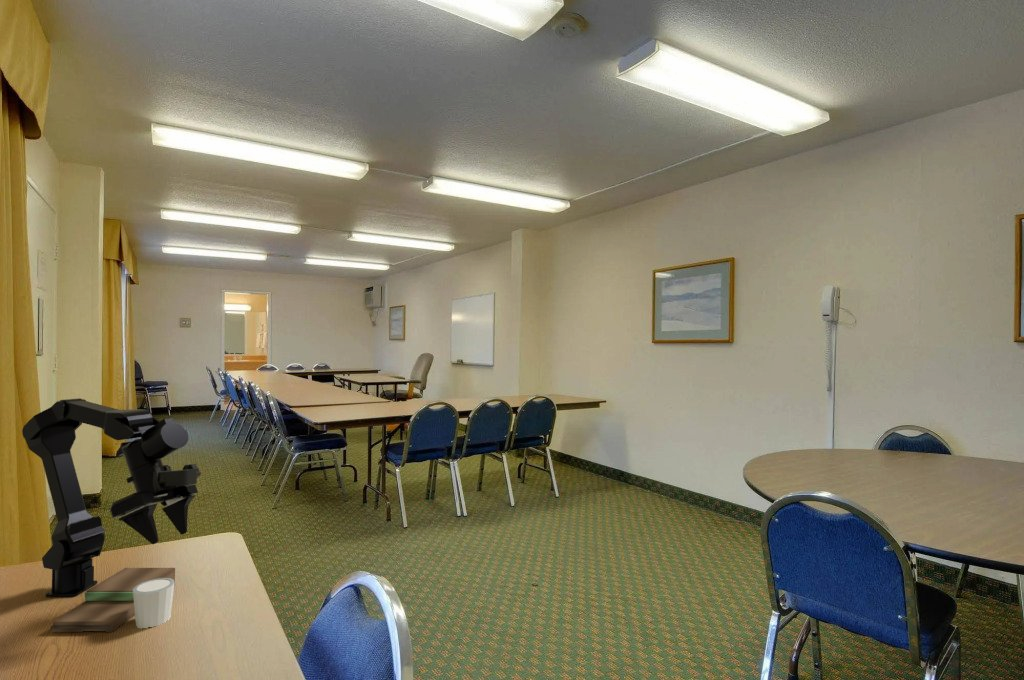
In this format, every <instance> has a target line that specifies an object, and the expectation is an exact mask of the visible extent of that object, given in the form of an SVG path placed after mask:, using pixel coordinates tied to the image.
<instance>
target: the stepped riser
mask: <svg viewBox="0 0 1024 680" xmlns="http://www.w3.org/2000/svg"><path fill="white" fill-rule="evenodd" d="M158 578H171V579H173V580H174V582H175V584H174V585H175V586H176V567H124V568H122V569H121V570H119V571H118V572H116V573H114V574H112V575H111V576H110V577H107V578H106V579H104V580H103V581H101V582H98V583H97V584H95V585H93V586H92V587H90V588H88V589H86V591H84V602H82V603H80V604H79V605H77V606H75V607H74V608H73V609H71V610H69V611H68V612H65V613H64V614H63V615H61V616H59V617H57V618H56V619H55V620H53V621H52V625H51V626H50V630H52V632H51V633H84V632H83V631H106V632H105V633H112V632H114V631H116V630H117V629H118V628H120V627H121V626H122V625H124V624H125V623H127V622H128V621H129V620H131V619H132V618H133V617H134V616H135V609H134V598H133V588H134V587H135V586H137V585H139V584H141V583H143V582H146V581H149V580H153V579H158ZM119 626H120V627H119Z"/></svg>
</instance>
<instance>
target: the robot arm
mask: <svg viewBox="0 0 1024 680" xmlns="http://www.w3.org/2000/svg"><path fill="white" fill-rule="evenodd" d="M83 424H85V425H89V426H93V427H96V428H100V429H102V430H103V433H104V435H106V436H107V437H109V438H111V439H113V440H115V441H123V440H130V439H134V440H132V441H125V442H121V443H120V446H119V448H118V449H117V450H116V452H115V456H116V457H120V456H124V460H125V462H126V466H127V468H128V472H129V474H130V476H129V477H127V478H126V483H127V484H131V483H132V484H133V486H134V489H135V492H134V493H133V492H132V494H129V495H127V496H125V497H122V498H120V499H117V500H116V501H113V502H112V503H111V505H110V508H109V511H110V513H111V518H112V519H116V518H118V521H119V522H123V523H124V524H126V525H127V526H129V527H130V528H131V529H133V530H134V531H135V532H137V533H138V534H139V535H140V536H141V537H143V538H144V539H146V540H147V542H149V543H150V544H151V545H155V544H156V543H159V535H158V531H157V530H158V529H157V527H156V523H155V517H154V513H155V510H156V508H157V505H158V504H159V503H160V504H161V506H163V508H161V509H162V511H163V513H165V516H167V518H168V519H169V521H170V522H171V523H172V524H173V526H174V528H175V529H176V531H178V532H179V534H180V535H184V534H186V533H188V513H189V512H188V511H189V505H190V504H191V503H192V501H193V499H195V498H196V495H197V494H198V493H199V491H198V489H197V486H196V484H198V479H199V477H200V476H201V475H202V472H201V471H200V468H199V467H198V465H197V463H190V464H184V466H183V467H182V469H177V470H173V469H172V468H171V467H172V466H170V465H169V464H163V463H164V462H163V461H162V459H164V458H165V457H168V456H169V455H172V454H173V453H175V452H176V451H178V450H180V449H182V448H183V447H185V446H186V445H187V444H188V442H189V433H188V430H186V429H185V428H184V426H182V425H181V424H179V423H176V422H175V420H174V418H173V417H168V418H163V419H161V420H159V419H158V418H156V417H155V416H153V413H152V412H151V411H150V410H148V409H144V408H143V409H141V408H139V409H138V408H137V409H136V408H135V409H131V408H130V409H118V408H114V407H111V406H106V405H102V404H99V403H96V402H95V403H94V402H90V401H87V400H86V399H84V398H69V399H60V400H57V401H55V403H53V404H52V406H51V407H48V408H46V409H45V410H42V411H41V412H39V413H37V414H35V415H34V416H32V417H31V418H30V419H29V420H28V421H27V422H26V423H25V424H24V425H23V427H22V431H21V432H22V437H23V439H25V443H26V445H27V447H28V449H29V451H31V452H32V453H33V454H35V455H36V456H37V457H38V458H40V459H41V461H42V465H43V468H44V473H45V477H46V480H47V484H48V488H49V492H50V496H51V500H52V503H53V509H54V512H55V514H56V518H57V523H56V525H55V528H54V530H53V532H52V535H51V542H52V545H51V547H50V548H49V549H48V550H47V551H46V552H45V554H44V555H43V556H42V558H41V561H42V565H43V568H44V569H48V570H51V590H50V591H48V592H46V593H45V595H44V596H45V597H75V596H78V595H79V594H81V593H83V592H86V591H87V590H89V589H91V588H92V587H94V586H96V585H97V584H98V580H95V573H94V572H95V566H94V565H93V558H96V557H100V556H101V553H102V550H103V546H104V544H105V541H106V540H105V539H106V535H105V533H106V530H105V529H104V527H103V523H102V518H101V517H100V515H95V516H94V515H92V514H90V513H89V512H88V511H87V509H86V504H85V501H84V497H83V493H82V489H81V486H80V482H79V479H78V476H77V475H78V474H77V471H76V468H75V467H76V466H75V464H74V463H75V462H74V460H73V456H72V453H71V449H72V448H73V445H74V443H75V441H76V439H77V434H76V431H77V430H78V428H80V427H81V426H82V425H83Z"/></svg>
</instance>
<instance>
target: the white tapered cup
mask: <svg viewBox="0 0 1024 680" xmlns="http://www.w3.org/2000/svg"><path fill="white" fill-rule="evenodd" d="M174 584H175V585H176V581H175V582H174V580H173V579H171V578H158V579H153V580H149V581H146V582H143V583H141V584H139V585H137V586H135V587H134V588H133V598H134V609H135V617H134V618H135V619H134V620H135V626H137V627H136V628H138V629H142V628H146V629H149V628H148V627H152V628H154V627H153V626H156V627H159V626H161V625H163V624H162V623H164V622H165V623H167V622H168V621H169V620H170V619H171V615H172V608H173V599H174V592H175V591H174V590H175V586H174ZM167 620H168V621H167ZM166 621H167V622H166ZM165 623H164V624H165ZM160 624H161V625H160ZM158 625H159V626H158Z"/></svg>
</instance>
